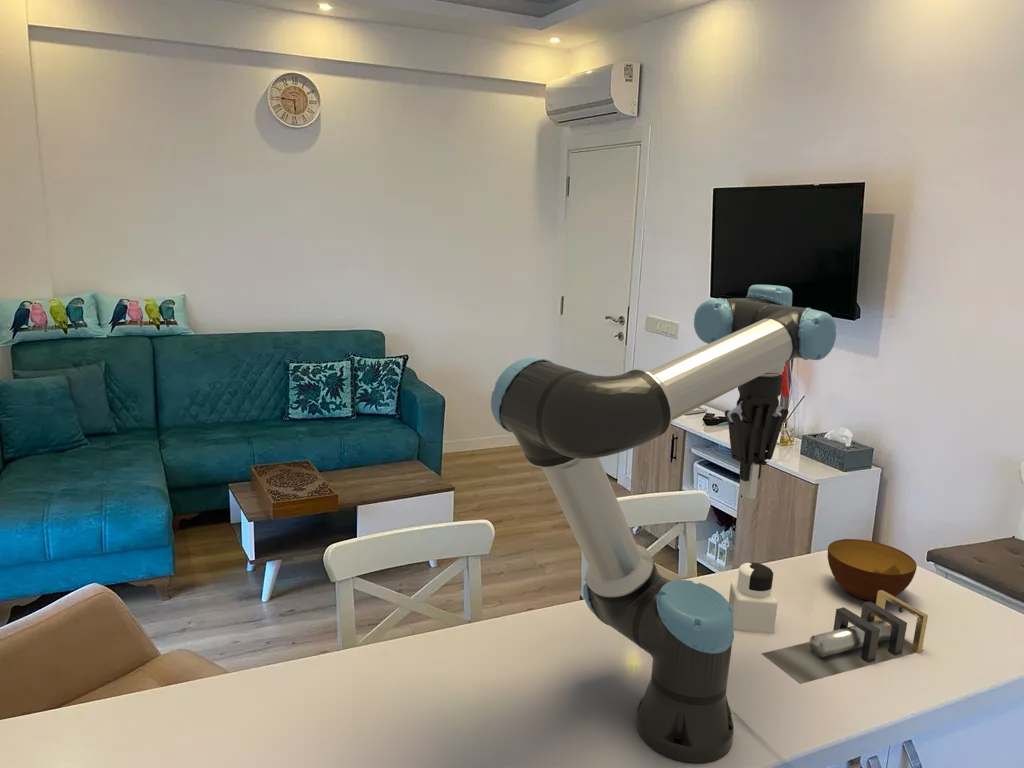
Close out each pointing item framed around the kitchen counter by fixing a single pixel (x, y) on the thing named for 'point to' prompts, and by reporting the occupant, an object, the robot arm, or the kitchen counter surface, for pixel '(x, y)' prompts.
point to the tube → (845, 639)
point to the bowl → (870, 568)
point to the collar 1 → (870, 630)
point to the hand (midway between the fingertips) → (747, 496)
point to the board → (826, 660)
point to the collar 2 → (897, 624)
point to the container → (753, 599)
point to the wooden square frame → (921, 616)
